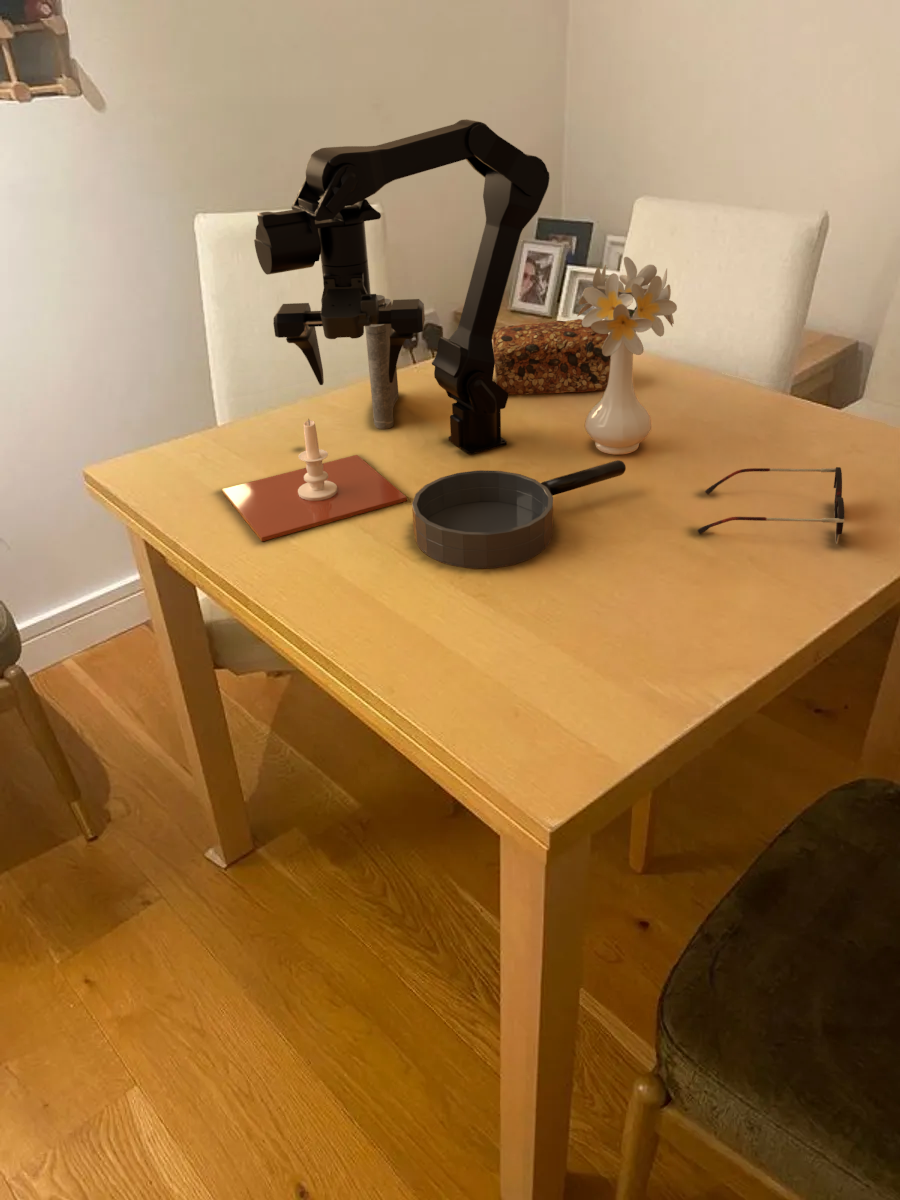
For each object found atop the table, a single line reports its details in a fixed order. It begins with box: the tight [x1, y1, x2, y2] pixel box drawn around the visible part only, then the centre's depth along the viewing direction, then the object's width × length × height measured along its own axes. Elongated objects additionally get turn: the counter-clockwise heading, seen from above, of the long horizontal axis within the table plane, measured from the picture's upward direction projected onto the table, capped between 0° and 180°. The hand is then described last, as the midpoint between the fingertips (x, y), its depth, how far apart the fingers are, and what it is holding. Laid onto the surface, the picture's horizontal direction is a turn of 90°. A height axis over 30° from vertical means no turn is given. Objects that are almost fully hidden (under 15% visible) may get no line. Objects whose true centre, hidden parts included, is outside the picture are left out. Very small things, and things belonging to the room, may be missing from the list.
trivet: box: [221, 454, 408, 542], centre depth 129 cm, size 20×16×1 cm
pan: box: [411, 469, 554, 569], centre depth 118 cm, size 17×17×4 cm
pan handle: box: [540, 459, 627, 497], centre depth 123 cm, size 13×2×2 cm, turn 119°
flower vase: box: [576, 256, 678, 455], centre depth 131 cm, size 13×18×25 cm
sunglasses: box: [697, 466, 845, 544], centre depth 118 cm, size 14×16×5 cm
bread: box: [492, 318, 611, 396], centre depth 158 cm, size 19×11×10 cm, turn 88°
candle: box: [298, 418, 337, 501], centre depth 126 cm, size 5×5×10 cm
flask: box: [364, 294, 400, 430], centre depth 149 cm, size 4×14×18 cm, turn 179°
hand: (356, 383), depth 128 cm, fingers open, 9 cm apart
